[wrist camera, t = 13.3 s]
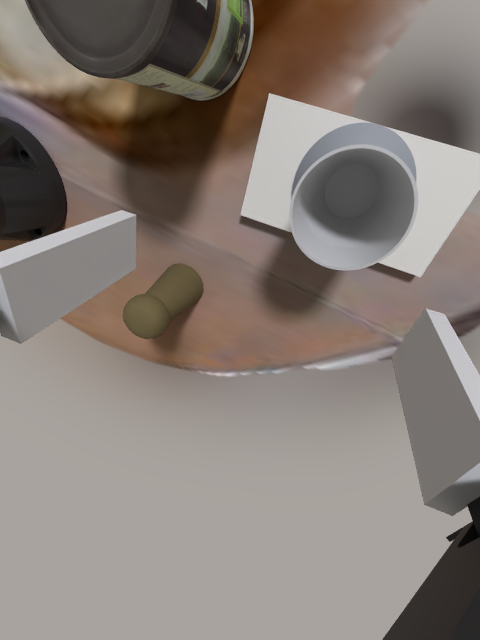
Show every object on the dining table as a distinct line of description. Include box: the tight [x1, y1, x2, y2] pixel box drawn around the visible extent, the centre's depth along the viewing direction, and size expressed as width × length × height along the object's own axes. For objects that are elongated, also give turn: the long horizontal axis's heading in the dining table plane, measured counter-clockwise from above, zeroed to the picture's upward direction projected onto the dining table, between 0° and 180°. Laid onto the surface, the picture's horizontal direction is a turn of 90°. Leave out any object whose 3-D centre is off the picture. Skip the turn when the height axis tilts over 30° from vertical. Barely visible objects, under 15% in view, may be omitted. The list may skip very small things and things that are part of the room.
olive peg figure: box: [123, 264, 203, 339], centre depth 37 cm, size 6×6×11 cm
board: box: [241, 93, 480, 277], centre depth 29 cm, size 20×11×2 cm, turn 75°
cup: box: [289, 144, 418, 270], centre depth 24 cm, size 8×8×10 cm
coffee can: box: [25, 0, 254, 101], centre depth 21 cm, size 10×10×14 cm
